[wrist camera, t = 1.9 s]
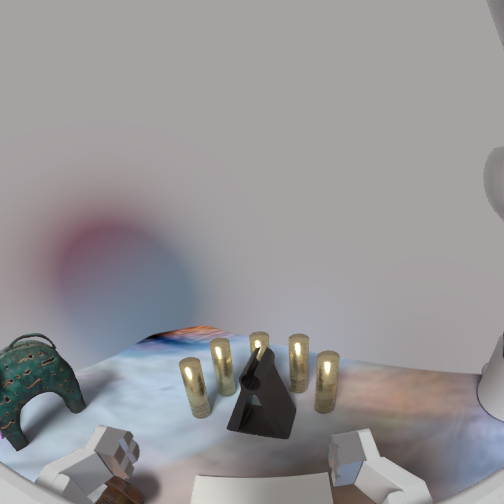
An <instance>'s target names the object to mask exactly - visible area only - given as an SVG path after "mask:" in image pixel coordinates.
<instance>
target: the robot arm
mask: <svg viewBox="0 0 504 504" xmlns="http://www.w3.org/2000/svg"><path fill="white" fill-rule="evenodd" d="M487 3H488V6H489V9H490V11H491V14H492V17H493V20H494V23H495V26H496V28H497V31H498V34H499V37H500V40H501V42H502V46H503V48H504V0H487ZM484 187H485V192H486V195H487V198H488V200H489V203H490V204H491V206H492V208H493V209H494V211H495V212H496V213H497V214H498V215H499V216H500V217H501V218H502V220H503V221H504V147H499V148H494V149H493V151H492V152H491V153H490V155H489V157H488V159H487V161H486V164H485V168H484ZM478 398H479V401H480V403H481V405H482V406H483V407H484V409H485V410H486V411H487V412H488V413H489V414H490V415H492V416H493V417H495V418H497V419H499V420H501V421H504V333H503V335H502V336H501V337H500V338H499V340H498V343H497V345H496V347H495V350H494V352H493V354H492V357H491V359H490V361H489V363H487V364H485V365H484V366H483V369H482V379H481V381H480V383H479V385H478ZM132 438H133V435H132V433H131V432H130V431H125V430H120V429H116V428H112V427H108V426H104V425H99V426H97V428H96V429H95V431H94V432H93V434H92V436H91V437H90V439H89V441H88V442H87V444H86V446H85V447H84V448H80V449H78V450H76V451H74V452H72V453H70V454H68V455H66V456H64V457H62V458H60V459H58V460H56V461H54V462H52V463H50V464H47V465H45V467H44V469H43V470H42V472H41V473H40V475H39V476H38V478H37V480H36V481H35V483H34V482H32V481H30V480H29V479H27V478H25V477H24V476H22V475H20V474H19V473H17V472H15V471H14V470H12V469H11V468H9V467H8V466H6V465H5V464H3V463H2V462H0V504H94V503H93V501H92V500H91V499H90V498H88V497H87V495H89V494H90V493H92V492H93V491H94V490H96V489H97V488H98V487H100V486H101V485H102V484H104V483H105V482H106V481H108V480H109V479H110V478H112V477H113V475H115V476H119V477H123V478H127V479H130V478H131V475H132V473H133V470H134V466H133V464H134V463H135V462H137V461H138V458H139V451H140V450H139V446H138V444H137V443H136V442H135V441H134V440H133V439H132ZM330 442H331V445H330V446H329V449H328V460H329V466H330V467H331V468H333V469H332V473H331V476H332V481H333V486H334V487H336V486H342V485H348V484H354V483H355V484H354V485H356V486H357V487H358V488H359V489H360V490H361V491H362V492H363V493H365V494H366V495H367V496H368V497H369V498H370V499H371V500H373V501H374V502H375V503H376V504H434V503H433V500H432V498H431V495H430V493H429V490H428V488H427V486H426V483H425V481H423V480H422V479H420V478H418V477H416V476H415V475H413V474H411V473H410V472H408V471H406V470H405V469H403V468H401V467H400V466H398V465H396V464H395V463H393V462H392V461H390V460H388V459H387V458H385V457H380V455H379V452H378V449H377V447H376V444H375V441H374V439H373V436H372V433H371V431H370V429H369V428H367V429H362V430H357V431H350V432H345V433H339V434H333V435H331V438H330ZM436 504H504V468H501V469H500V470H498V471H496V472H495V473H493V474H491V475H490V476H488V477H486V478H485V479H483V480H481V481H480V482H478V483H476V484H474V485H473V486H471V487H469V488H467V489H465V490H463V491H461V492H459V493H457V494H455V495H453V496H451V497H449V498H447V499H445V500H443V501H441V502H438V503H436Z"/></svg>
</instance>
